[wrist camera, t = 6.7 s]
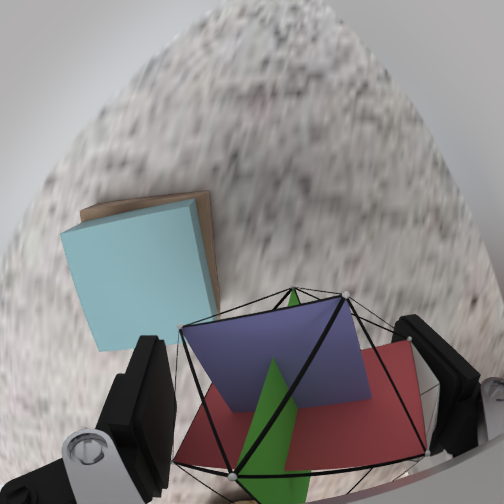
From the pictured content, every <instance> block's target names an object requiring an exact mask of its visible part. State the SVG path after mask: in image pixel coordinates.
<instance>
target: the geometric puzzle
mask: <svg viewBox="0 0 504 504" xmlns="http://www.w3.org/2000/svg"><path fill="white" fill-rule="evenodd" d="M297 288H298V287H295V285H294V284H292V285H291V288H289V289H290V290H289V289H286V290H283V291H281V292H284V291H287V290H289V291H288V292H287V293H286V294H285V295H284V297H283V298H282V299H281V300H280V301H279V302H278V304H277V305H276V306H275V307H274V308H273V309H272V310H268V311H263V312H258V313H253V314H248V315H243V316H237V317H232V318H226V319H221V320H215V321H209V322H204V323H198V324H194V323H197V322H200V321H203V320H206V319H209V318H212V317H215V316H217V315H220V314H223V313H226V312H229V311H232V310H235V309H237V308H240V307H243V306H246V305H249V304H251V303H254V302H257V301H260V300H262V299H265V298H268V297H271V296H273V295H276V294H279V293H281V292H278V293H275V294H272V295H270V296H267V297H264V298H261V299H259V300H256V301H253V302H250V303H247V304H245V305H242V306H239V307H236V308H233V309H230V310H228V311H225V312H222V313H219V314H216V315H213V316H210V317H207V318H204V319H201V320H198V321H195V322H192V323H189V324H186V325H182V324H178V325H177V328H178V329H179V332H180V336H181V339H182V342H183V346H184V349H185V352H186V355H187V359H188V362H189V365H190V368H191V371H192V374H193V377H194V380H195V383H196V386H197V389H198V392H199V395H200V398H201V401H202V403H201V405H200V407H199V410H198V412H197V414H196V416H195V418H194V420H193V422H192V424H191V426H190V428H189V430H188V432H187V434H186V436H185V438H184V440H183V442H182V444H181V446H180V448H179V450H178V451H177V453H176V455H175V457H174V459H173V460H170V464H172V465H174V464H175V465H177V466H178V465H181V466H184V467H188V468H191V469H195V470H199V471H203V472H207V473H211V474H215V475H219V476H224V477H228V479H229V480H230V481H235V482H236V483H237V484H238V485H239V486H240V487H241V488H242V489H243V490H244V491H245V492H246V493H247V494H249V495H250V496H251V497H252V498H253V499H254V500H255V501H256V502H257V503H258V504H301V503H305V501H306V496H307V491H308V486H309V481H310V476H319V475H329V474H337V473H345V472H352V471H358V470H364V469H370V468H371V469H370V470H369V471H368V473H369V472H370V471H371V470H372V469H373V468H375V467H381V466H386V465H390V464H395V463H399V462H404V461H414V462H417V463H418V462H419V461H420V460H422V459H423V458H424V457H428V456H429V455H430V451H429V447H430V442H431V438H432V434H433V432H434V429H435V427H436V425H437V416H438V407H439V396H440V382H439V380H438V379H437V377H436V376H435V374H434V373H433V371H432V370H431V368H430V367H429V365H428V364H427V363H426V361H425V360H424V358H423V357H422V355H421V354H420V353H419V351H418V350H417V348H416V347H415V346H414V344H413V343H412V341H411V340H412V338H411V337H406V336H405V335H404V336H405V337H404V336H402V335H403V334H402V333H401V332H400V333H401V334H402V335H400V334H398V333H395V332H393V331H391V330H389V329H386V328H384V327H382V326H380V325H377V324H375V323H373V322H371V321H368V320H366V319H364V318H362V317H359V316H358V314H357V313H356V311H355V309H354V307H353V305H352V304H351V302H350V300H349V298H350V297H349V296H350V294H349V292H347V291H344V292H343V293H342V294H341V293H334V292H327V293H334V294H341V295H338V296H333V297H329V298H325V299H319V298H317V297H315V296H313V295H310V294H308V293H306V292H304V291H302V290H299V289H297ZM295 289H296V290H298V291H301V292H303V293H305V294H307V295H309V296H312V297H314V298H316V299H318V300H316V301H311V302H307V303H302V304H301V303H300V300H299V298H298V295H297V292H296V290H295ZM300 289H305V288H300ZM306 290H312V289H306ZM291 291H292V293H291ZM313 291H319V290H313ZM320 292H326V291H320ZM290 293H291V296H290V300H289V303H288V307H283V308H278V309H277V307H278V306H279V305H280V304H281V303H282V302H283V301H284V299H285V298H286V297H287V296H288V295H289V294H290ZM351 299H352V298H351ZM352 300H353V299H352ZM353 301H355V300H353ZM355 302H356V301H355ZM356 303H358V302H356ZM358 304H359V303H358ZM359 305H361V304H359ZM349 306H350V308H351V309H352V311H353V313H354V314H353V313H351V311H350V308H349ZM361 306H362V305H361ZM362 307H363V306H362ZM364 308H365V307H364ZM365 309H366V308H365ZM367 310H368V309H367ZM368 311H369V310H368ZM369 312H371V311H369ZM371 313H372V312H371ZM351 314H352V315H354V316H356V318H357V320H358V322H359V324H360V326H361V327H362V329H363V331H364V333H365V335H366V337H367V338H368V340H369V342H370V344H371V346H372V348H368V349H364V350H361V349H360V345H359V341H358V337H357V334H356V330H355V326H354V322H353V319H352V315H351ZM372 314H374V313H372ZM374 315H375V314H374ZM375 316H376V315H375ZM377 317H378V316H377ZM360 318H361V319H363V320H365V321H367V322H369V323H372V324H374V325H376V326H378V327H381V328H383V329H385V330H388V331H390V332H392V333H394V334H397V335H399V336H401V337H403V338H406V340H404V341H399V342H395V343H391V344H387V345H382V346H378V347H375V346H374V344H373V342H372V340H371V338H370V336H369V334H368V333H367V331H366V329H365V327H364V325H363V323H362V322H361V320H360ZM378 318H379V317H378ZM380 319H381V318H380ZM381 320H382V319H381ZM382 321H384V320H382ZM384 322H385V321H384ZM385 323H386V322H385ZM191 324H192V325H191ZM387 324H388V323H387ZM388 325H389V324H388ZM390 326H391V325H390ZM391 327H392V326H391ZM392 328H393V327H392ZM394 329H395V328H394ZM395 330H396V329H395ZM397 331H398V330H397ZM179 332H178V342H179ZM398 332H399V331H398ZM183 335H184V336H183ZM184 337H185V338H186V340H187V342H188V343H189V345H190V347H191V348H192V350H193V352H194V353H195V355H196V357H197V358H198V360H199V362H200V363H201V365H202V367H203V368H204V370H205V371H206V373H207V375H208V376H209V378H210V379H211V381H212V383H211V385H210V387H209V389H208V391H207V393H206V395H205V397H204V396H203V393H202V390H201V387H200V384H199V382H198V379H197V376H196V373H195V370H194V367H193V364H192V361H191V358H190V355H189V351H188V348H187V345H186V342H185V339H184ZM177 356H178V345H177ZM176 371H177V360H176ZM175 389H176V376H175ZM174 412H175V396H174ZM173 446H174V421H173ZM417 463H416V464H417ZM192 465H195V466H192ZM365 465H367V466H365ZM414 465H415V464H414ZM414 465H413V466H414ZM196 466H203V467H213V468H224V469H228V472H229V473H224V472H219V471H214V470H209V469H205V468H200V467H196ZM357 466H361V467H357ZM413 466H412V467H413ZM178 467H179V468H181V467H180V466H178ZM348 467H355V468H348ZM412 467H411V468H412ZM337 468H348V469H341V470H332V471H323V472H312V473H311V471H312V470H323V469H337ZM181 469H182V468H181ZM232 469H235V470H234V471H232ZM409 469H410V468H409ZM409 469H408V470H409ZM182 470H183V471H185V470H184V469H182ZM408 470H407V471H408ZM185 472H186V473H188V472H187V471H185ZM405 472H406V471H405ZM405 472H404V473H405ZM368 473H367V474H368ZM404 473H403V474H404ZM188 474H189V473H188ZM367 474H366V475H367ZM403 474H401V475H403ZM189 475H190V476H192V475H191V474H189ZM366 475H365V476H366ZM401 475H400V476H401ZM365 476H364V477H365ZM400 476H399V477H400ZM192 477H193V478H195V477H194V476H192ZM364 477H363V478H364ZM363 478H362V479H363ZM397 478H398V477H397ZM397 478H396V479H397ZM195 479H196V478H195ZM362 479H361V480H362ZM396 479H395V480H396ZM196 480H198V479H196ZM361 480H360V481H361ZM198 481H199V480H198ZM360 481H359V482H360ZM393 481H394V480H393ZM199 482H200V483H202V482H201V481H199ZM359 482H358V483H359ZM358 483H357V484H356V485H355V486H354V487H353V488H352V489H354V488H355V487H356V486H357V485H358ZM202 484H203V485H205V484H204V483H202ZM205 486H206V487H208V486H207V485H205ZM208 488H209V489H211V488H210V487H208ZM352 489H351V490H352ZM211 490H212V491H214V490H213V489H211ZM351 490H350V491H351ZM350 491H349V492H350ZM214 492H215V493H217V492H216V491H214ZM349 492H348V493H349ZM348 493H347V494H348ZM217 494H219V493H217ZM219 495H220V494H219ZM220 496H222V495H220ZM222 497H223V498H225V497H224V496H222ZM225 499H227V498H225ZM227 500H228V499H227ZM228 501H230V500H228ZM230 502H231V503H233V502H232V501H230ZM233 504H235V503H233Z"/></svg>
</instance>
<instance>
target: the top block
mask: <svg viewBox="0 0 504 504" xmlns="http://www.w3.org/2000/svg"><path fill="white" fill-rule="evenodd" d="M60 236H61V240H62V244H63V248H64V251H65V255H66V259H67V262H68V265H69V269H70V272H71V275H72V279H73V282H74V285H75V288H76V291H77V294H78V297H79V300H80V303H81V306H82V308H83V311H84V314H85V317H86V319H87V322H88V325H89V327H90V330H91V332H92V335H93V338H94V340H95V343H96V345H97V347H98V350H99V352H102V351H114V350H125V349H135V347H136V344H137V341H138V339H139V337H140V335H157V336H158V337H159V339H164V341H165V345H170V344H178V343H183V342H182V339H181V336H180V332H179V329H178V328H177V325H178V324H182V325H186V324H189V323H192V322H195V321H198V320H201V319H204V318H207V317H210V316H213V315H216V314H218V311H217V306H216V302H215V297H214V293H213V288H212V283H211V278H210V274H209V269H208V264H207V259H206V254H205V249H204V244H203V239H202V234H201V228H200V223H199V218H198V212H197V207H196V202H195V198H194V199H188V200H183V201H178V202H173V203H168V204H162V205H157V206H153V207H148V208H143V209H138V210H133V211H129V212H124V213H120V214H115V215H111V216H106V217H102V218H98V219H93V220H89V221H85V222H82V223H80V224H78V225H76V226H74V227H72V228H70V229H69V230H67V231H65V232H63V233H61V234H60ZM217 319H218V315H217V316H215V317H212V318H209V319H206V320H203V321H200V322H197V323H194V324H198V323H204V322H209V321H215V320H217ZM191 325H192V324H191ZM178 332H179V342H178ZM183 336H184V335H183ZM184 339H185V342H187V340H186V338H185V337H184Z"/></svg>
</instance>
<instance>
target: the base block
mask: <svg viewBox="0 0 504 504" xmlns="http://www.w3.org/2000/svg"><path fill="white" fill-rule="evenodd" d="M194 198H195V202H196V207H197V212H198V218H199V223H200V228H201V234H202V239H203V244H204V249H205V254H206V259H207V264H208V269H209V274H210V278H211V283H212V288H213V293H214V297H215V302H216V306H217V311H218V314H219V313H220V296H219V287H218V278H217V269H216V259H215V249H214V239H213V228H212V217H211V206H210V194H209V191H200V192H190V193H180V194H170V195H161V196H153V197H144V198H136V199H129V200H121V201H114V202H106V203H99V204H95V205H93V206H90V207H88V208H85V209H83V210H80V216H81V223H82V222H85V221H89V220H93V219H98V218H102V217H106V216H111V215H115V214H120V213H124V212H129V211H133V210H138V209H143V208H148V207H153V206H157V205H162V204H168V203H173V202H178V201H183V200H188V199H194ZM217 320H220V315H218V319H217Z"/></svg>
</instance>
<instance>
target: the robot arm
mask: <svg viewBox="0 0 504 504" xmlns="http://www.w3.org/2000/svg"><path fill="white" fill-rule="evenodd" d="M394 328H395V329H396V330H395V329H394V331H393V332H395V333H398V334H400V335H402V334H403V335H402V336H404V335H405V336H406V337H411V338H412V340H411V341H412V343H413V344H414V346H415V347H416V348H417V350H418V351H419V353H420V354H421V355H422V357H423V358H424V360H425V361H426V363H427V364H428V365H429V367H430V368H431V370H432V371H433V373H434V374H435V376H436V377H437V379H438V380H439V382H440V396H439V407H438V416H437V425H436V427H435V429H434V432H433V434H432V438H431V442H430V447H429V451H430V455H429V456H428V457H424V458H423V459H422V460H420V461H419V462H418V463H417V462H414V461H404V462H402V463H403V464H404V466H405V468H406V470H408V469H409V468H410V469H409V470H408V471H407V472H408V474H409V475H410V476H407V477H404V478H401V479H398V480H395V481H392V482H389V483H386V484H383V485H379V486H376V487H373V488H369V489H365V490H362V491H358V492H354V493H350V494H346V495H342V496H337V497H333V498H328V499H323V500H318V501H312V502H307V503H301V504H504V379H502V378H498V377H490V378H487V379H485V380H484V381H483V382H482V384H480V383H479V382H478V380H479V378H480V375H481V374H480V373H479V372H478V371H476V370H475V369H474V368H473V367H472V366H471V365H470V364H469V363H468V362H467V361H466V360H465V359H464V358H463V357H462V356H461V355H460V354H459V353H458V352H457V351H456V350H455V349H454V348H452V347H451V346H450V345H449V344H448V343H447V342H446V341H445V340H444V339H443V338H442V337H441V336H440V335H438V334H437V333H436V332H435V331H434V330H433V329H432V328H431V327H430V326H429V325H428V324H426V323H425V322H424V321H423V320H422V319H421V318H420V317H419V316H418V315H416V314H412V315H406V316H401V317H400V318H399V321H396V323H395V326H394ZM397 330H398V331H399V332H398V331H397ZM400 332H401V333H402V334H401V333H400ZM405 336H404V337H405ZM404 340H406V338H403V337H401V336H399V335H397V334H394V333H393V336H392V341H391V343H395V342H399V341H404ZM174 396H175V392H174V387H173V383H172V378H171V372H170V367H169V362H168V356H167V351H166V345H165V341H164V339H159V337H158V336H157V335H140V337H139V339H138V341H137V344H136V347H135V349H134V352H133V354H132V357H131V359H130V362H129V364H128V367H127V370H126V372H125V374H120V373H119V374H117V375H116V377H115V379H114V381H113V384H112V386H111V389H110V391H109V394H108V396H107V399H106V401H105V404H104V407H103V409H102V412H101V414H100V417H99V420H98V422H97V425H96V428H95V429H83V430H79V431H77V432H74V433H73V434H71V435H70V436H68V437H67V439H66V440H65V441H64V443H63V446H62V457H63V458H61V459H58V460H56V461H54V462H52V463H50V464H48V465H45V466H43V467H41V468H39V469H36V470H34V471H32V472H29V473H27V474H25V475H22V476H20V477H18V478H15V479H13V480H11V481H9V482H7V483H6V484H5V485H4V486H3V487H2V489H1V491H0V504H147V503H149V502H150V501H152V498H153V497H159V498H161V493H162V489H167V488H168V483H169V473H170V460H171V454H172V445H173V421H174V428H175V420H176V412H177V402H176V397H175V412H174ZM416 463H417V464H416ZM414 464H415V465H414ZM413 465H414V466H413ZM412 466H413V467H412ZM411 467H412V468H411Z"/></svg>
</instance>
